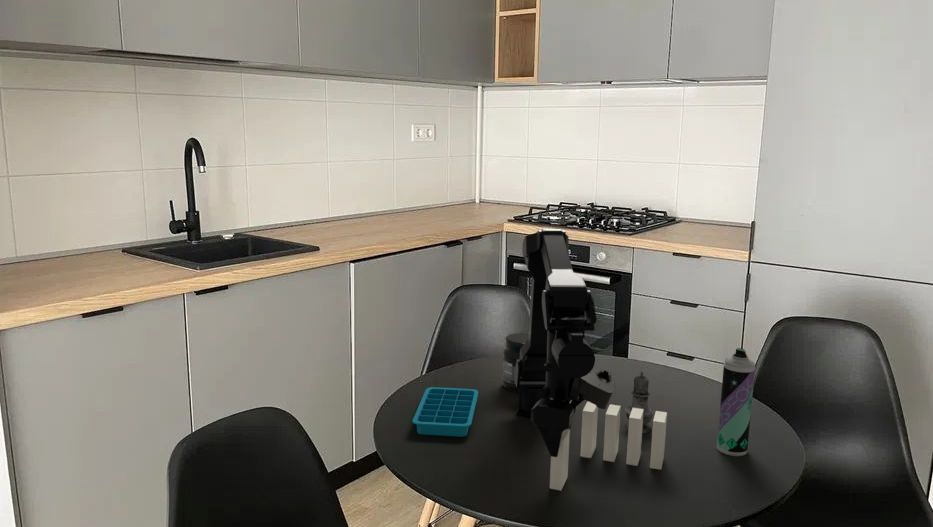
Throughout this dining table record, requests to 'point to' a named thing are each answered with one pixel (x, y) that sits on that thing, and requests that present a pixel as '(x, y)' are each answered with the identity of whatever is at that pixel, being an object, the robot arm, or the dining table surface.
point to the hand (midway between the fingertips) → (560, 445)
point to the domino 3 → (611, 433)
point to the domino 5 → (658, 440)
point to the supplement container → (512, 358)
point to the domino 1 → (560, 463)
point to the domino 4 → (634, 436)
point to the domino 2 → (589, 430)
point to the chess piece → (641, 401)
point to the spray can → (736, 404)
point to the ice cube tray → (446, 411)
